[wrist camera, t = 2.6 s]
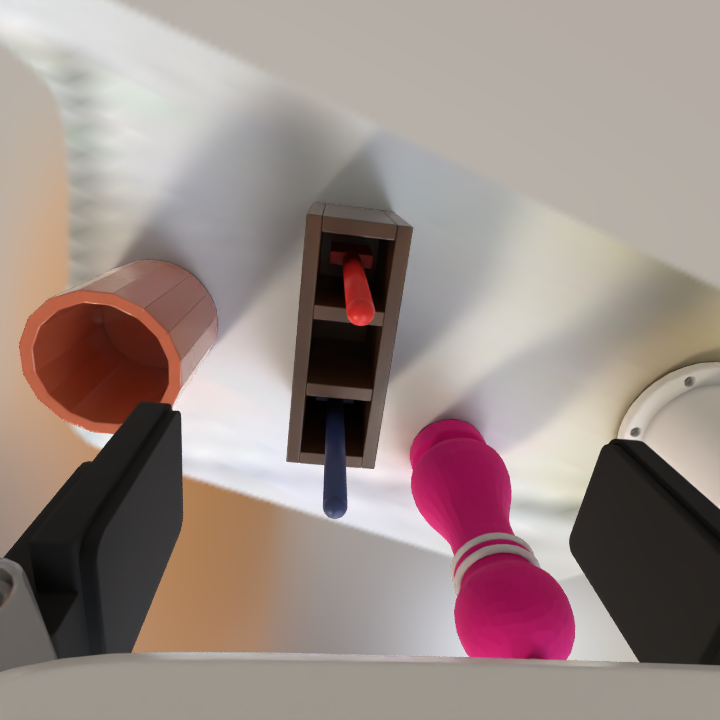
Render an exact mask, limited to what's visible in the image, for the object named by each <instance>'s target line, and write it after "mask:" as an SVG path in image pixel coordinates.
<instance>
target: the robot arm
mask: <svg viewBox="0 0 720 720" xmlns="http://www.w3.org/2000/svg"><path fill="white" fill-rule="evenodd" d="M182 494H183V489H182V436H181V414H180V412H179V411H172V406H171V404H170V403H157V402H144V401H141V402H140V403H139V404H138V405H137V406H136V407H135V409H134V410H133V411H132V412H131V414H130V415H129V416H128V417H127V419H126V420H125V421H124V422H123V424H122V425H121V426H120V427H119V429H118V430H117V431H116V432H115V434H114V435H113V436H112V438H111V439H110V440H109V441H108V443H107V444H106V445H105V446H104V448H103V449H102V450H101V451H100V453H99V454H98V455H97V457H96V458H95V459H94V460H93V461H92V462H90V461H88V462H84V463H82V464H81V465H80V467H78V468H77V469H76V471H75V472H74V473H73V474H72V476H71V477H70V478H69V479H68V480H67V482H66V483H65V484H64V485H63V486H62V488H61V489H60V490H59V491H58V492H57V494H56V495H55V496H54V497H53V499H52V500H51V501H50V502H49V503H48V504H47V506H46V507H45V508H44V509H43V511H42V512H41V513H40V514H39V515H38V517H37V518H36V519H35V520H34V521H33V523H32V524H31V525H30V526H29V527H28V529H27V530H26V531H25V532H24V534H23V535H22V536H21V537H20V538H19V539H18V541H17V542H16V543H15V544H14V546H13V547H12V548H11V549H10V550H9V552H8V553H7V554H6V555H5V556H4V558H0V720H720V362H708V363H698V364H694V365H690V366H686V367H683V368H681V369H678V370H676V371H674V372H671V373H669V374H667V375H666V376H664V377H663V378H661V379H659V380H658V381H656V382H655V383H653V384H652V385H651V386H650V387H649V388H647V389H646V390H645V391H644V392H643V393H642V394H641V395H640V396H639V397H638V398H637V399H636V400H635V401H634V403H633V404H632V405H631V407H630V408H629V410H628V411H627V413H626V415H625V416H624V418H623V421H622V423H621V426H620V428H619V432H618V436H617V439H613V440H611V441H610V442H609V444H607V445H604V446H603V447H602V449H601V452H600V454H599V457H598V460H597V463H596V465H595V468H594V471H593V474H592V477H591V479H590V482H589V485H588V488H587V490H586V493H585V496H584V499H583V502H582V504H581V507H580V510H579V513H578V515H577V518H576V521H575V524H574V526H573V529H572V532H571V535H570V539H569V545H570V550H571V553H572V555H573V556H574V558H575V559H576V561H577V563H578V564H579V566H580V568H581V569H582V571H583V572H584V574H585V576H586V577H587V579H588V580H589V582H590V584H591V585H592V586H593V588H594V590H595V592H596V593H597V595H598V596H599V598H600V600H601V601H602V603H603V604H604V606H605V608H606V609H607V611H608V612H609V614H610V616H611V617H612V619H613V620H614V622H615V624H616V625H617V627H618V629H619V630H620V632H621V633H622V635H623V637H624V638H625V640H626V641H627V643H628V645H629V646H630V648H631V649H632V651H633V653H634V654H635V656H636V657H637V659H638V661H639V662H640V663H637V662H608V661H577V660H575V661H574V660H544V659H510V658H474V657H436V656H396V655H352V654H306V653H252V652H251V653H249V652H248V653H247V652H242V653H241V652H149V653H131V652H132V650H133V647H134V645H135V642H136V640H137V637H138V635H139V632H140V630H141V627H142V625H143V622H144V620H145V618H146V615H147V613H148V610H149V608H150V605H151V603H152V600H153V598H154V595H155V593H156V590H157V588H158V585H159V583H160V581H161V578H162V576H163V573H164V571H165V568H166V565H167V563H168V561H169V558H170V556H171V553H172V551H173V548H174V546H175V543H176V541H177V539H178V536H179V533H180V531H181V527H182V521H183V495H182Z"/></svg>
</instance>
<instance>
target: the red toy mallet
mask: <svg viewBox="0 0 720 720" xmlns="http://www.w3.org/2000/svg"><path fill="white" fill-rule="evenodd" d="M373 259H374V256H373V253H372V251H371V249H370V246H368V245H360V244H351V243H343V242H335V241H331V248H330V261H329V263H330V264H335V265H343V274H344V287H345V300H346V313H347V317H348V319H349V320H350V322H351V323H353V324H355V325H357V326H364V325H367V324H369V323H370V322H371V321H372V320H373V318H374V315H375V308H374V304H373V300H372V297H371V293H370V290H369V286H368V283H367V279H366V275H365V272H364V268H369V269H372V266H373Z"/></svg>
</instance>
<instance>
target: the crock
mask: <svg viewBox="0 0 720 720" xmlns="http://www.w3.org/2000/svg"><path fill="white" fill-rule="evenodd" d="M217 331H218V317H217V311H216V308H215V305H214V302H213V300H212V298H211V296H210V294H209V293H208V291H207V290H206V288H205V287H204V286H203V285H202V283H201V282H200V281H199V280H198V279H197V278H195V277H194V276H193V275H192V274H190V273H189V272H188V271H186V270H184V269H183V268H181V267H179V266H176V265H174V264H171V263H168V262H165V261H159V260H139V261H135V262H131V263H128V264H126V265H123V266H120V267H117V268H114V269H112V270H110V271H108V272H106V273H104V274H101V275H99V276H97V277H95V278H93V279H90V280H88V281H86V282H84V283H82V284H80V285H77V286H75V287H73V288H71V289H69V290H66V291H64V292H62V293H60V294H58V295H56V296H53V297H51V298H49V299H48V300H47V301H46V302H45V303H43V304H42V305H41V306H40V307H39V308H38V309H37V310H36V311H35V312H34V313H33V314H31V315H30V316H29V319H28V320H27V323H26V325H25V328H24V331H23V334H22V337H21V340H20V343H19V344H20V345H19V348H20V356H21V362H22V369H23V375H24V376H25V378H26V380H27V381H28V383H29V384H30V386H31V388H32V390H33V391H34V393H35V395H36V396H37V398H38V399H40V401H41V402H42V403H43V404H45V405H46V406H47V407H48V408H50V409H51V410H52V411H53V412H54V413H55V414H57V415H58V416H59V417H60V418H61V419H64V421H67V422H69V423H72V424H74V425H76V426H79V427H81V428H84V429H86V430H88V431H91V432H92V431H93V432H97V433H109V434H115V432H116V431H117V430H118V429H119V427H120V426H121V425H122V424H123V422H124V421H125V420H126V419H127V417H128V416H129V415H130V414H131V412H132V411H133V410H134V409H135V407H136V406H137V405H138V404H139V403H140V402H141V401H144V402H157V403H170V404H171V406H172V408H173V406H174V405H175V403H176V402H177V400H178V399H179V397H180V396H181V394H182V393H183V391H184V390H185V388H186V387H187V385H188V384H189V382H190V381H191V380H192V378H193V377H194V375H195V374H196V372H197V371H198V369H199V368H200V366H201V365H202V363H203V362H204V360H205V359H206V357H207V355H208V353H209V351H210V350H211V348H212V346H213V344H214V342H215V339H216V336H217Z"/></svg>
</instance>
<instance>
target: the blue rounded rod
mask: <svg viewBox="0 0 720 720" xmlns="http://www.w3.org/2000/svg"><path fill="white" fill-rule="evenodd" d="M315 400H316V401H327V410H326V438H325V465H324V492H323V510H324V512H325V514H326V515H327V516H328V517H329V518H332V519H338V518H340V517H342V516H343V515H344V514H345V513H346V510H347V484H346V456H345V427H344V403H349V404H353V403H354V400H353V399H342V398H331V397H320V396H316V398H315Z"/></svg>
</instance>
